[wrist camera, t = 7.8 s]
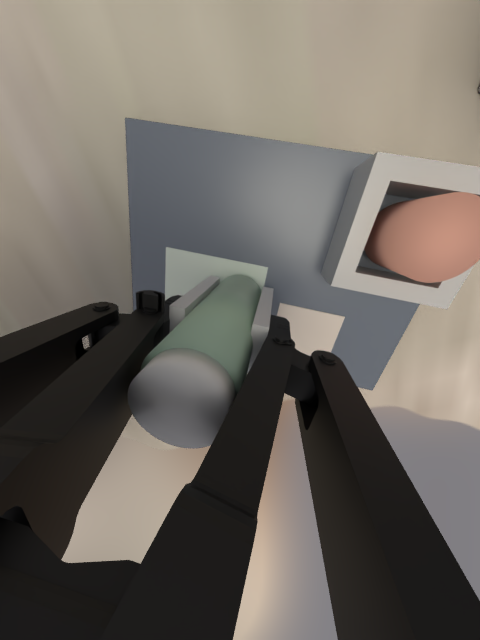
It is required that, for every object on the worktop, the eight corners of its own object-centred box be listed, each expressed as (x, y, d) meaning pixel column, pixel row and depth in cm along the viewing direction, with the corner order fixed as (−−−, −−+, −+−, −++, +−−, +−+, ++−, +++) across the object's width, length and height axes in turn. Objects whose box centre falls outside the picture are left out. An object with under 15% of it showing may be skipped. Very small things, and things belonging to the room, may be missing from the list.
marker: (216, 310, 18) (124, 436, 8) (221, 267, 17) (117, 347, 6) (258, 319, 18) (227, 464, 7) (268, 277, 17) (246, 378, 6)
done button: (354, 260, 14) (379, 274, 10) (378, 196, 12) (419, 185, 9) (413, 272, 14) (462, 290, 10) (446, 207, 12) (517, 200, 8)
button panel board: (138, 330, 21) (108, 353, 18) (130, 121, 15) (80, 87, 11) (369, 385, 20) (390, 423, 16) (482, 174, 13) (565, 154, 9)
